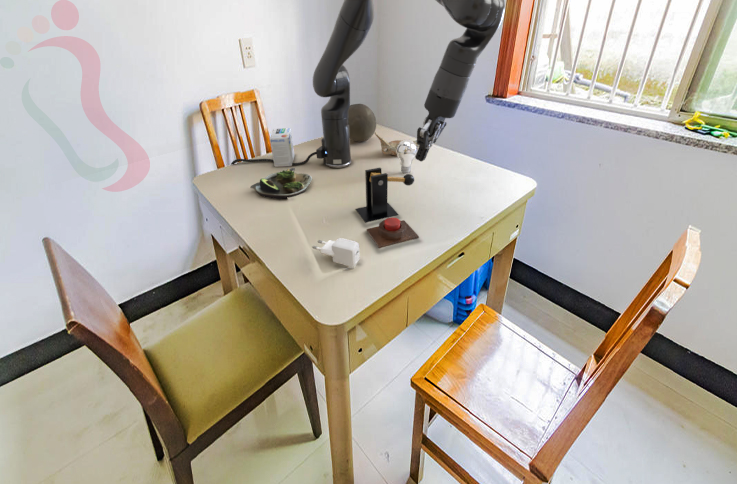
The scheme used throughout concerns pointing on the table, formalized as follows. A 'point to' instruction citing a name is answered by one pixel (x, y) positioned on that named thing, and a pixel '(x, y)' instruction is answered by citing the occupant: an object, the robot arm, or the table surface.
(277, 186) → the salad plate
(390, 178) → the lever
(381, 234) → the button block
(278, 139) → the light bulb box
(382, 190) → the switch bracket
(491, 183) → the table surface
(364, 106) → the cantaloupe
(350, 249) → the power adapter
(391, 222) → the button
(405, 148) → the light bulb
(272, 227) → the table surface
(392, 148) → the oil lamp
